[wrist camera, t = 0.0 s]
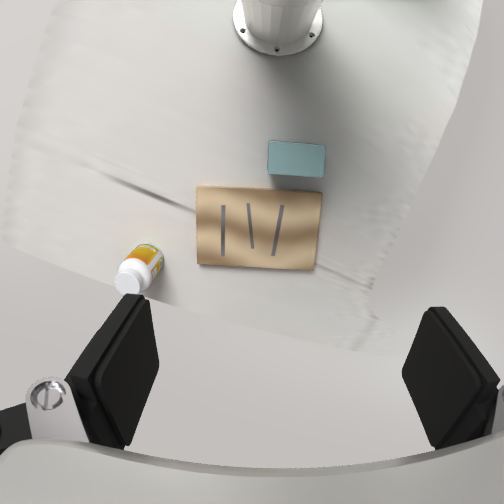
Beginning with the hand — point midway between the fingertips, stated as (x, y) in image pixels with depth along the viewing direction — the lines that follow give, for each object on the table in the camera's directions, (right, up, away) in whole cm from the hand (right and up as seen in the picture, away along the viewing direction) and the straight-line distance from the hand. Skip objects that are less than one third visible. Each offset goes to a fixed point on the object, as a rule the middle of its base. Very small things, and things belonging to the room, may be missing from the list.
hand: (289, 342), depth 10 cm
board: (0, +7, +37) cm, 38 cm away
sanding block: (+5, +17, +33) cm, 37 cm away
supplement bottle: (-18, +2, +40) cm, 44 cm away
